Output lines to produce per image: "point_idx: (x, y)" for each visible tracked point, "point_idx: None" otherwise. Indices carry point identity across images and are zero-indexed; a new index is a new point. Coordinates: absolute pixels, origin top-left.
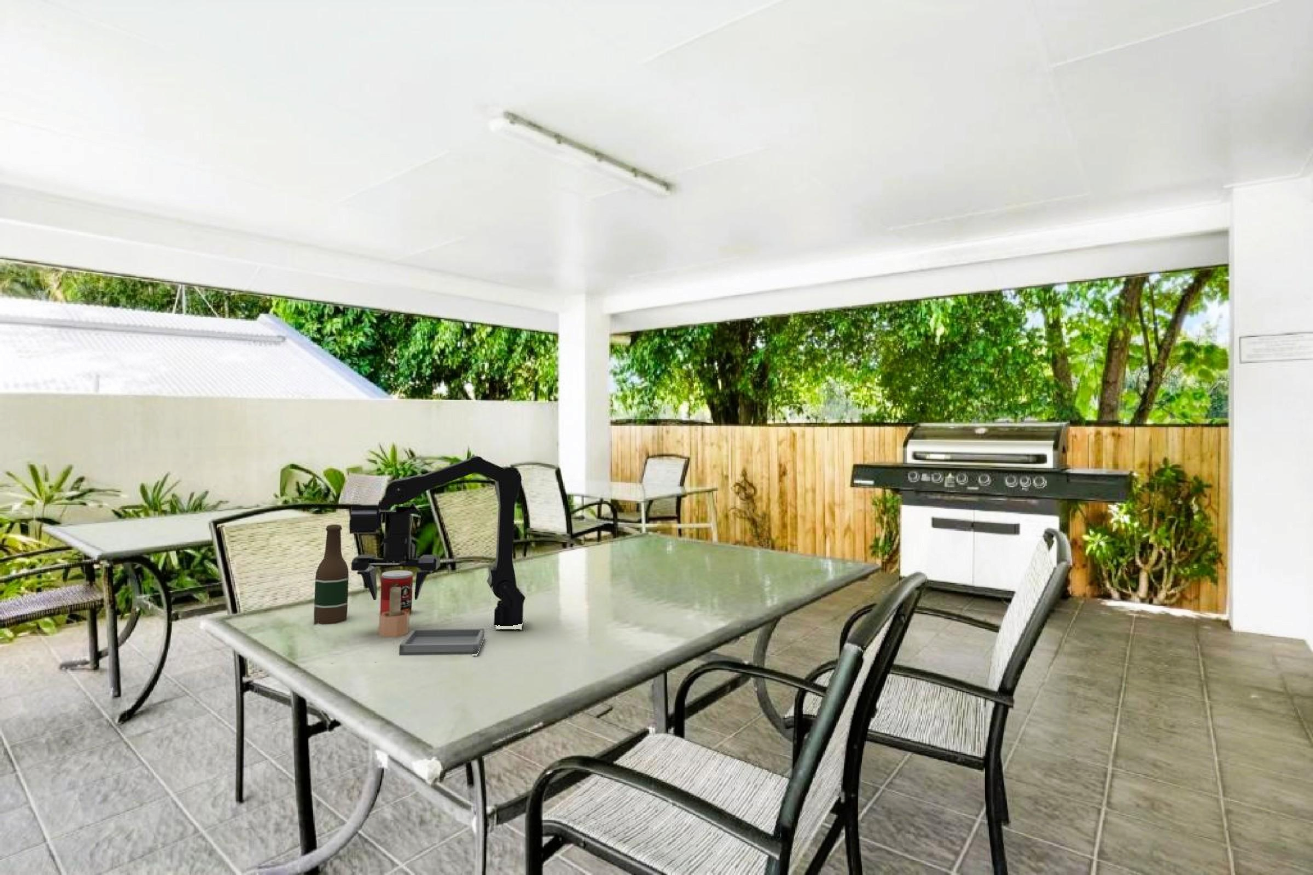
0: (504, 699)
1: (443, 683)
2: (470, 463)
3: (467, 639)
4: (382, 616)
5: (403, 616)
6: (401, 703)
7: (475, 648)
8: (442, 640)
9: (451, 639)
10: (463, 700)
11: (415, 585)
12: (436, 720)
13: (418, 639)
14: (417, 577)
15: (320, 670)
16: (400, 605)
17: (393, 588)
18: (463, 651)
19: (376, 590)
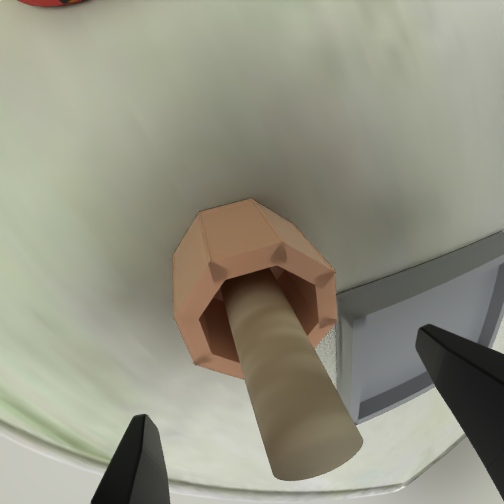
0: None
1: (417, 432)
2: None
3: (479, 283)
4: (220, 371)
5: (323, 334)
6: (373, 474)
7: None
8: (430, 312)
9: (450, 297)
10: (431, 442)
11: (467, 436)
12: (405, 470)
13: (369, 329)
14: (499, 478)
15: (211, 478)
16: (307, 337)
17: (304, 468)
18: None
19: (143, 468)
